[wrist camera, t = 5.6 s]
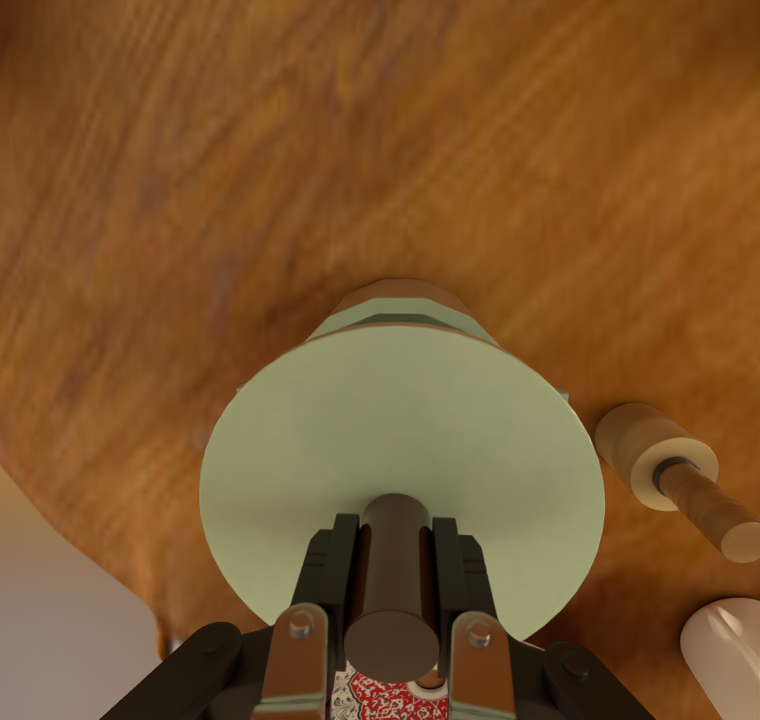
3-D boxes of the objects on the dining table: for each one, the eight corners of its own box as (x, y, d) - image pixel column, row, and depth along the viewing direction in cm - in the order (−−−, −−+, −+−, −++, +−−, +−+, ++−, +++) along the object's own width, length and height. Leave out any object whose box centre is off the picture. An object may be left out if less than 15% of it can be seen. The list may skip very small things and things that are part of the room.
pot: (270, 278, 30) (220, 297, 22) (537, 278, 29) (588, 298, 21) (282, 444, 34) (244, 512, 26) (520, 449, 33) (557, 522, 25)
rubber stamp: (599, 401, 31) (703, 495, 20) (673, 402, 31) (819, 498, 20) (589, 465, 33) (681, 584, 22) (660, 466, 33) (788, 588, 22)
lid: (189, 315, 14) (52, 372, 9) (621, 319, 14) (768, 386, 8) (233, 634, 18) (158, 810, 13) (565, 652, 18) (636, 848, 12)
